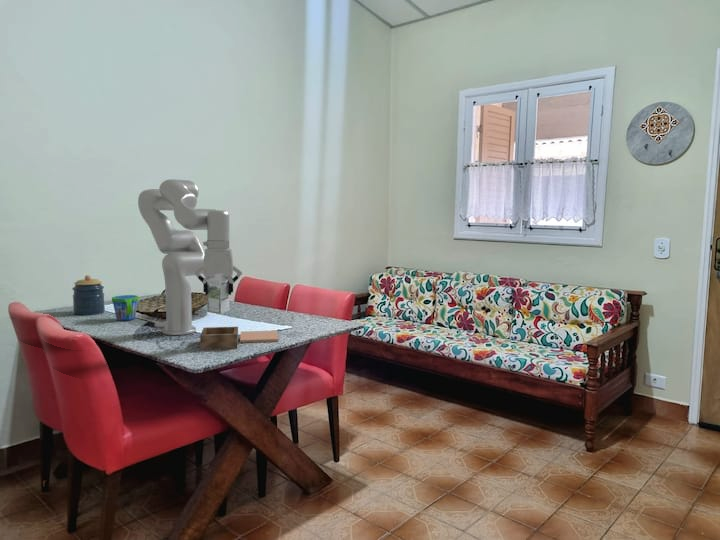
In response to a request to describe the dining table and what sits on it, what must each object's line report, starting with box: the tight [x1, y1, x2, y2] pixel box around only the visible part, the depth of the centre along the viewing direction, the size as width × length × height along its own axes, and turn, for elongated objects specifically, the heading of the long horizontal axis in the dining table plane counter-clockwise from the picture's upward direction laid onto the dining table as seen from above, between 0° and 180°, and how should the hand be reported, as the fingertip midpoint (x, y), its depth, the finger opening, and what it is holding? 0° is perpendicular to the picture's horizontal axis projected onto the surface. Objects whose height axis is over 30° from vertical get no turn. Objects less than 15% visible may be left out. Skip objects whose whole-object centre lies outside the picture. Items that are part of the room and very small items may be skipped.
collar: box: [199, 326, 239, 350], centre depth 183 cm, size 12×12×5 cm
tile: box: [239, 329, 279, 344], centre depth 194 cm, size 14×14×1 cm
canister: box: [71, 274, 106, 316], centre depth 234 cm, size 13×13×18 cm
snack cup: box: [111, 294, 139, 322], centre depth 221 cm, size 16×10×10 cm
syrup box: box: [207, 273, 230, 314], centre depth 181 cm, size 6×6×14 cm
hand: (218, 293), depth 181 cm, fingers closed on syrup box, 7 cm apart
